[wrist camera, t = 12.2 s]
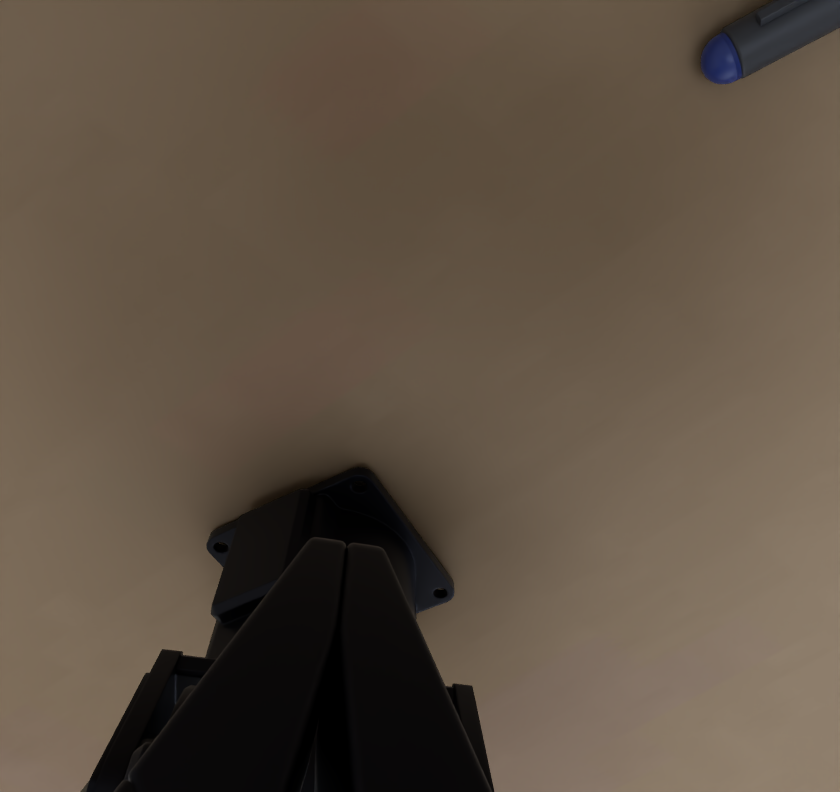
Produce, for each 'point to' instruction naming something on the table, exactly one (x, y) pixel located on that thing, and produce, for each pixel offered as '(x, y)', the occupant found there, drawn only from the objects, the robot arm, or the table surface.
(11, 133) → the table surface
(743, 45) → the pen
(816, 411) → the table surface
